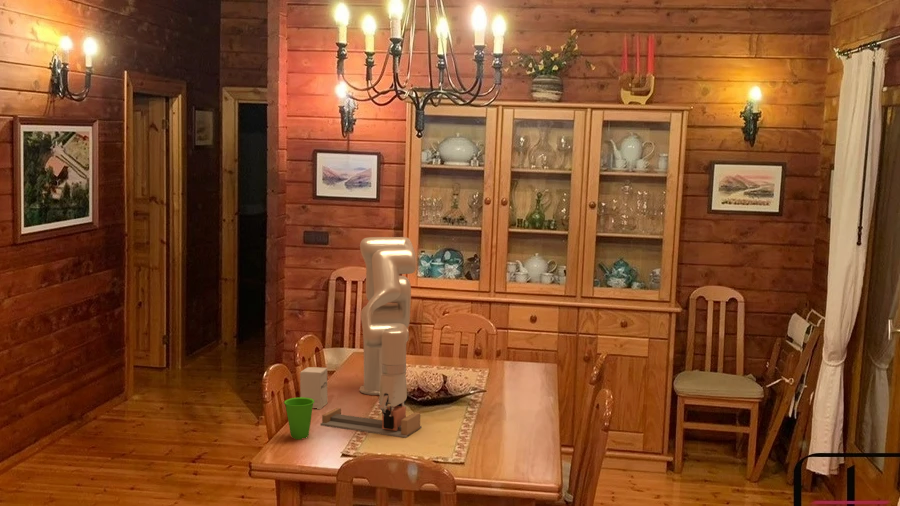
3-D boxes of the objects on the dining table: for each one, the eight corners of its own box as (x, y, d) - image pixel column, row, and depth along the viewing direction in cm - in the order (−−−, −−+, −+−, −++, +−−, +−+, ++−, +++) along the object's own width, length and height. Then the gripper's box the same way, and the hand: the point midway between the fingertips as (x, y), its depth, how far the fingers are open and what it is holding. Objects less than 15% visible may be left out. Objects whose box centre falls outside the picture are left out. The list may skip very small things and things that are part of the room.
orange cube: (391, 423, 286) (391, 404, 285) (405, 425, 284) (405, 406, 283) (382, 428, 281) (382, 409, 280) (396, 430, 279) (396, 411, 278)
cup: (303, 430, 282) (302, 395, 280) (320, 437, 275) (320, 401, 274) (278, 436, 275) (278, 401, 274) (296, 443, 269) (295, 407, 268)
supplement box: (320, 409, 304) (320, 372, 302) (299, 408, 305) (299, 371, 304) (328, 403, 311) (327, 367, 310) (307, 402, 313) (307, 366, 311)
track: (338, 415, 297) (338, 401, 296) (421, 427, 285) (421, 412, 284) (320, 425, 287) (320, 409, 286) (405, 437, 275) (405, 421, 274)
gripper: (396, 361, 290) (396, 416, 292) (369, 373, 274) (369, 431, 276) (417, 363, 287) (417, 419, 289) (391, 376, 271) (391, 434, 273)
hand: (394, 424), depth 282 cm, fingers closed on orange cube, 6 cm apart
